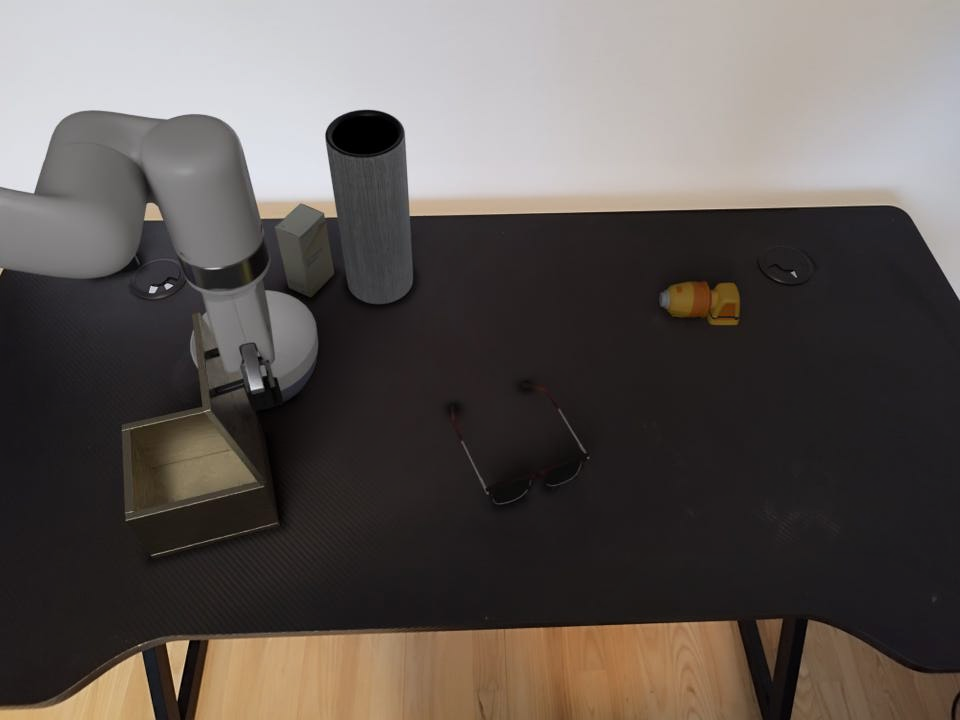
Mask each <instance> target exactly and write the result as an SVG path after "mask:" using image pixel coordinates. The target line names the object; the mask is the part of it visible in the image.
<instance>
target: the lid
mask: <svg viewBox="0 0 960 720" xmlns="http://www.w3.org/2000/svg"><path fill="white" fill-rule="evenodd" d="M202 316H203V315H202V314H201V313H200V312H194V313H192V314H191V318H192V327H193V330H194V337H195V346H196V354H197V363H198V368H197V370H198V379H199V388H200V395H201V396H200V397H201V405H202V406H201V407H203V412H204V414H205V415H206V416H207V418H208V419H209V420H210V421H211V423H212V424H213V425H214V426H215V428H216V429H217V430H218V432H219V433H220V434H221V435H222V437H223V438H224V439H225V441H226V442H227V443H228V444H229V446H230V447H231V448H232V449H233V451H234V452H235V453H236V455H237V456H238V457H239V458H240V460H241V461H242V462H243V463H244V465H245V466H246V467H247V469H248V470H249V471H250V472H251V474H252V475H253V476H254V477H255V479H256V480H257V481H258V483H259V484H260V485H262V484H265V483H267V479H266V473H265V467H264V461H263V455H262V448H261V442H260V436H259V430H258V424H257V418H256V414H257V412H255V411H254V410H252V409H251V406H250V403H249V400H248V398H247V395H246V392H245V389H244V380H243V378H242V376H241V375H240V373H239V372H237V373H231V374H230V373H228V372H226V371H225V369H224V366H223V363H222V359H221V356H220V353H219V350H218V347H217V344H216V341H215V338H214V335H213V333H212V331H211V329H210V328H209V326H208V325H207V323H206V322H205V320H204V319H203V317H202ZM257 355H258V351H257ZM242 357H243V356H242ZM243 360H244V358H243Z"/></svg>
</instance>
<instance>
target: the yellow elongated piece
mask: <svg viewBox="0 0 960 720" xmlns="http://www.w3.org/2000/svg"><path fill="white" fill-rule="evenodd" d="M658 302H659V306H660V307H662V308H663V309H665V310H666V311H667V313H669V314H670V316H671V317H674V318H675V317H676V318H683V319H684V318H702V319H704V318H706V319H707V322H708V323H709V324H710V325H712V326H737V325H738V324H739V321H740V311H741V297H740V293H739V290H738V287H737V285H736V284H735V282H719V283H718V284H717V285H716V286H715V287H714V288H713V289H711V288H710V286H709V284H708V283H707V281H704V280H702V281H695V280H694V281H685V282H680V283H675V284H670V285H669V286H668V287H667V289H665V290H663V291H661V292H660V293H659V296H658ZM709 310H710V312H711V314H712V317H714V318H717V317H718V316H735V317H739V319H738V320H735V319H734V318H717V319H715V320H714V319H712V317H711V316H710V313H709ZM673 314H674V315H673Z"/></svg>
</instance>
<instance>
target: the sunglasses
mask: <svg viewBox="0 0 960 720" xmlns="http://www.w3.org/2000/svg"><path fill="white" fill-rule="evenodd" d="M522 388H524V389H526V388H527V389H529V388H532V389H534V390H537V391H538V390H539V391H541V392H543V393H544V394H545V395H546V396H547V397H548V398H549V400H550V401H551V403H552V404H553V406H554V408H555V409H556V410H557V411H558V412H559V414H560V416H561V417H562V419H563V421H564V423H565V424H566V426H567V427H568V429H569V431H570V432H571V434H572V436H573V438H574V439H575V441H576V442H577V444H578V447H579V448H580V450H581V452H582V453H580V454H577V455H573V456H570V457H567V458H563V459H561V460H559V461H556V462H554V463H552V464H550V465H548V466H547V467H545V468H543V469H542V470H541V471H539V472H537V473H534V474H533V473H526V474H520V475H517V476H512V477H508V478H506V479H503V480H501V481H498V482H496V483H494V484H492V485H489V486H487V485H486V484H485V481H484V479H483V478H482V477H481V475H480V473H479V471H478V469H477V467H476V465H475V463H474V461H473V459H472V457H471V455H470V452H469V451H468V448H467V446H466V444H465V442H464V437H463V435H462V433H461V431H460V429H459V427H458V424H457V420H456V417H455V405H451V406H450V415H451V416H450V417H451V421H452V424H453V425H452V426H453V428H454V430H455V433H456V435H457V437H458V440H459V441H460V443H461V444H462V446H463V448H464V450H465V452H466V454H467V457H468V459H469V461H470V463H471V465H472V467H473V469H474V471H475V473H476V475H477V478H478V479H479V482H480V484H481V486H482V488H483V490H484V493H485V495H486V496H489V499H490V501H491V502H494V504H496V505H505V504H509V503H510V502H513V501H516V500H518V499H520V498H521V497H523V496H524V495H525V494H526V493H527V491H528V492H529V491H531V489H532V488H533V487H534V485H535V483H536V482H537V481H539V480H540V481H541V482H542V483H543V484H544V486H549V487H555V486H558V485H562V484H565V483H566V482H568V481H570V480H572V479H574V478H575V477H576V476H577V475H578V473H579V471H580V470H583V469H584V466H585V463H586V462H587V461H588V460H589V459H590V455H589V453H588V452H587V451H586V449H585V448H584V446H583V445H582V443H581V442H580V439H578V437H577V435H576V433H575V432H574V430H573V429H572V426H571V425H570V424H569V422H568V420H567V419H566V417H565V415H564V414H563V412H562V409H561V408H560V407H559V405H558V403H557V402H556V399H555V398H554V396H553V395H552V394H551V392H550V391H548V390H547V389H546V388H544V387H542V386H539V385H535V384H531V383H528V382H522ZM574 474H575V475H574ZM569 476H570V477H569ZM566 477H567V478H566ZM555 481H556V482H555Z"/></svg>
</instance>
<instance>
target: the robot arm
mask: <svg viewBox="0 0 960 720" xmlns="http://www.w3.org/2000/svg"><path fill="white" fill-rule="evenodd" d="M48 143H49V144H48V147H47V151H46V154H45V156H44V157H45V158H44V160H43V162H42V165H41V169H40V172H39V175H38V179H37V182H36V185H35V189H34V191H33V192H29V191H22V190H17V189H14V188H13V189H12V188H7V187H4V186H0V269H3V270H10V271H14V272H15V271H16V272H22V273H28V274H34V275H40V276H47V277H55V278H62V279H63V278H64V279H74V280H75V279H77V280H81V279H82V280H84V279H97V278H103V277H107V276H111V274H112V275H114V274H113V273H116V272H118V271H120V270H121V269H123V268H124V267H125V266H126V265H128V264H129V263H130V261H131V260H132V259H133V257H134V256H135V254H136V255H137V252H138V250H139V247H140V243H141V240H142V236H143V229H144V225H145V217H146V211H147V205H148V204H154V205H155V206H157V208H158V211H159V213H160V216H161V219H162V221H163V223H164V227H165V229H166V231H167V234H168V237H169V239H170V241H171V244H172V248H173V250H174V252H175V254H176V257H177V259H178V262H179V264H180V268H181V270H182V272H183V276H184V278H185V280H186V282H187V283H188V284H189V286H190V287H191V288H193V289H194V290H196V291H197V292H200V293H201V296H202V301H203V304H204V308H205V313H206V312H207V315H208V318H209V322H210V325H211V328H212V331H213V335H214V338H215V341H216V344H217V347H218V350H219V353H220V356H221V359H222V363H223V366H224V369H225V371H226V372H228V373H230V374H231V373H237V372H239V369H241V373H242V376H243V380H244V389H245V392H246V395H247V398H248V400H249V403H250V406H251V409H252V410H254V411H260V410H268V409H272V408H274V407H277V406H281V405H283V404H284V403H285V402H283V397H282V394H281V390H280V387H279V383H278V380H277V377H273V373H272V369H271V364H272V363H273V362H274V361H275V352H274V343H273V335H272V327H271V320H270V314H269V308H268V302H267V298H266V293H265V290H266V289H265V285H264V281H263V280H264V279H265V276H266V275H267V273H268V272H269V270H270V267H271V261H272V259H271V254H270V253H271V252H270V251H269V246H268V242H267V238H266V234H265V230H264V226H263V223H262V219H261V215H260V211H259V208H258V204H257V200H256V194H255V192H254V187H253V184H252V180H251V174H250V171H249V168H248V164H247V160H246V155H245V152H244V151H245V150H244V149H243V146H242V142H241V139H240V137H239V136H238V134H237V132H236V131H235V129H233V128H232V126H231V125H230V124H228V123H227V122H225V120H224V121H223V120H222V119H220V118H218V117H215V116H212V115H208V114H202V113H201V114H200V113H189V114H181V115H176V116H173V117H171V118H168V119H167V118H159V117H158V118H156V117H148V116H141V115H135V114H128V113H122V112H116V111H109V110H81V111H80V110H79V111H77V112H73V113H71V114H69V115H67V116H65V117H64V118H62V119H61V120H60V121H59V123H58V124H57V125H56V126H55V128H54V130H53V132H52V133H51V137H50V140H49V142H48ZM257 351H258V353H259V355H260V356H259V357H258V355H257ZM242 356H243V357H242ZM243 358H244V360H243ZM262 365H264V366H265V370H266V374H267V376H262V373H261V368H260V366H262Z"/></svg>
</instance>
